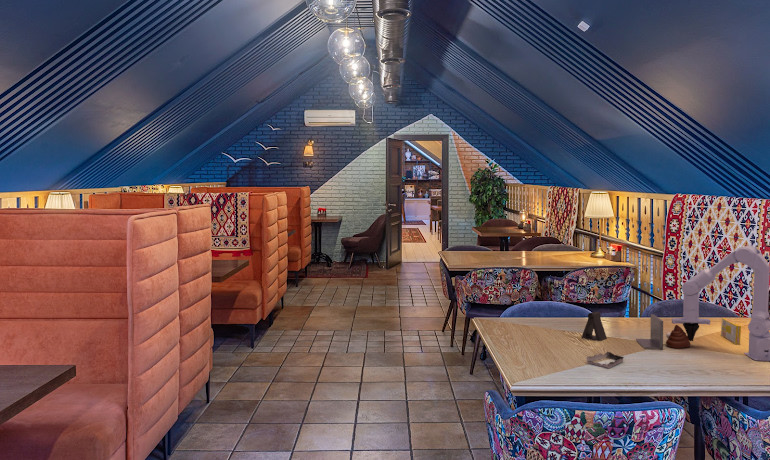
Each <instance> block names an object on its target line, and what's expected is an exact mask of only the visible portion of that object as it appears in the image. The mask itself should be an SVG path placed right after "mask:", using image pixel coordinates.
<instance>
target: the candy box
mask: <svg viewBox="0 0 770 460" xmlns="http://www.w3.org/2000/svg"><path fill="white" fill-rule="evenodd" d="M741 329H742V326H741V325H739V324H737V323H736V322H734V321H731V320H730V319H728V318H726V317H722V318H721V325H720V336H721V337H723V338H724V339H726V340H728V341H730V342H731V343H733V345H741V331H742V330H741Z"/></svg>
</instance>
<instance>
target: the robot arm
mask: <svg viewBox="0 0 770 460" xmlns="http://www.w3.org/2000/svg"><path fill="white" fill-rule="evenodd" d="M738 263H740V264H742V265H746V266H747V267H749V269H751V270H752V271H753V272H754V274H753V297H752V298H753V300H752V301H753V303H752V313H751V316H750V317H751V318H750V321H749V323H748V325H747V329H748V331H749V332H748V352H743V354H744V355H745V356H747V357H749V358H750V359H752V360H753V361H758V362H759V361H761V362H762V361H763V362H765V361H766V362H770V313H769V293H770V292H769V291H770V290H769V289H770V264H769V263H768V261H767V260H766V259H765V257H764V255H763V254H762V251H761V250H759V249H758V248H757V247H755V246H753V245H745V246H741V247H739V248H737V249H736V250H734V251H732V252H730V253H728V254H727V255H725V256H724V257H723V258H721V260H719V261H718V262H717V263H716V264H714V265H713V266H712V267H710V268H709V269H707V268H704V269H699V271H698V273H696V274H695V275H694V276H693V277H690V278H689V280H688V281H685V282H684V283H683V284H682V286H681V290H682V292H683V308H682V309H683V310H682V311H683V313H682V314H683V315H682V317H679V318H678V317H677V318H676V317H675V318H671V324H673V325H679V324H682V326H683V327H684V330H685V333H686V335H687V336H688V338H689V341H690V342H694V339H695V336H696V333H697V332H698V330H699V329H700V325H711V320H710V319H709V318H699V317H700V315H699V313H700V312H699V311H700V308H699V307H700V296H699V295H700V292H701V290H702V289H705V288H706V287H707V286H709V285H710V284H712V282H714V281H715V280H716V275H718V274H719V273H721V272H722V271H723V270H725V269H726V268H728V267H729V266H731V265H732V264H733V265H734V264H738Z"/></svg>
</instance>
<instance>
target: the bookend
mask: <svg viewBox="0 0 770 460" xmlns="http://www.w3.org/2000/svg"><path fill="white" fill-rule="evenodd" d="M635 341H636V343H638V344H639V345H640V346H641V347H642V348H643V349H644V350H664V320H662V319H661V318H660V317H658V316H657V315H655V314H654V313H651V314H650V338H636V339H635Z"/></svg>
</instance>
